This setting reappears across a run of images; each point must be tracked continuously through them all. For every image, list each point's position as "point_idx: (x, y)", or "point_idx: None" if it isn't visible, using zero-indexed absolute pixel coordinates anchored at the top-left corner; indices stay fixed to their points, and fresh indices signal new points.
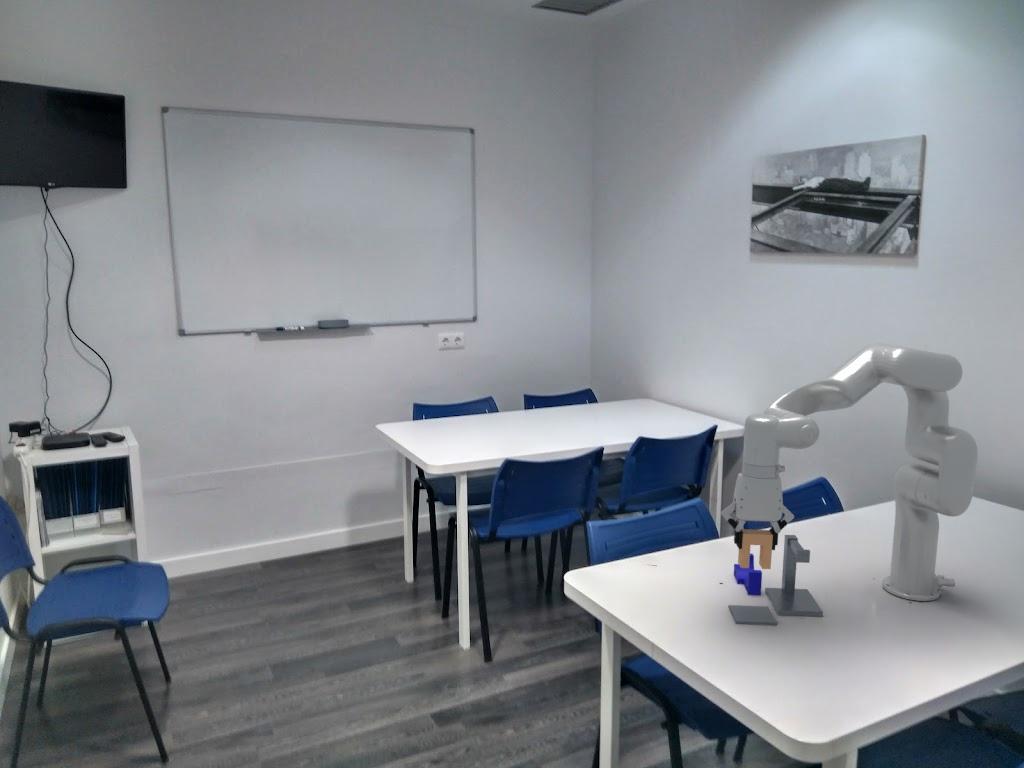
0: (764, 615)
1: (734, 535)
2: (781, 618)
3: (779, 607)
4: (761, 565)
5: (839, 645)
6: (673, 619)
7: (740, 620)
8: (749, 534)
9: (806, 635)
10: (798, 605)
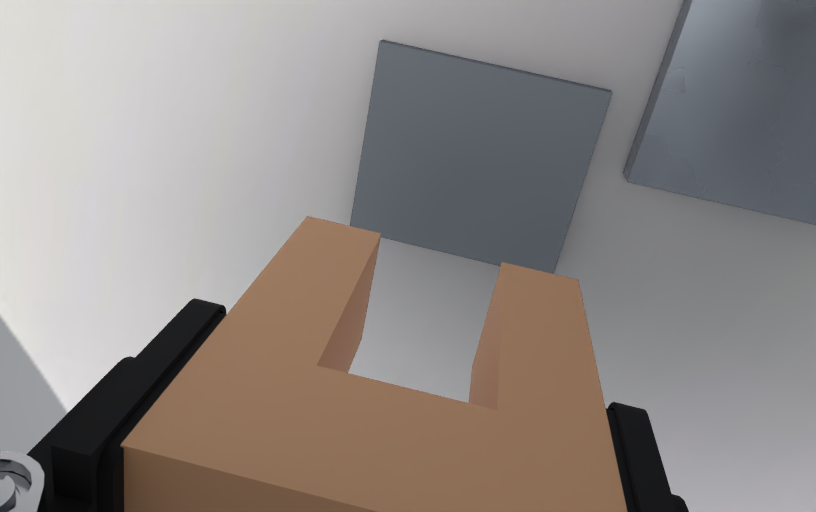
0: (527, 197)
1: (79, 413)
2: (619, 209)
3: (656, 151)
4: (478, 349)
5: (725, 469)
6: (66, 134)
7: (374, 227)
8: None
9: (636, 376)
10: (799, 143)
